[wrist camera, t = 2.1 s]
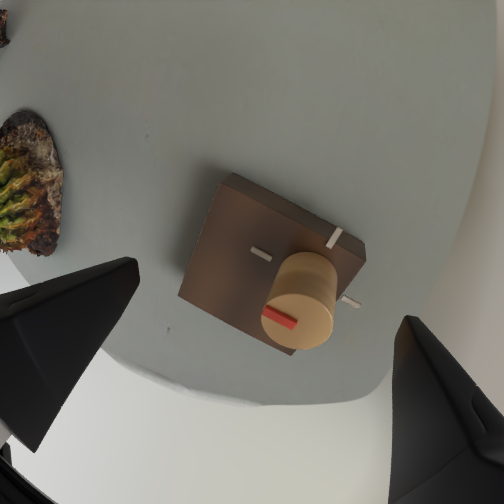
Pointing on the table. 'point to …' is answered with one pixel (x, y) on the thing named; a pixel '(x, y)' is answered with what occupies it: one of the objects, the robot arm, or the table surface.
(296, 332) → the knob
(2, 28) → the figurine
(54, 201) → the cactus
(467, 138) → the table surface
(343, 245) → the panel
